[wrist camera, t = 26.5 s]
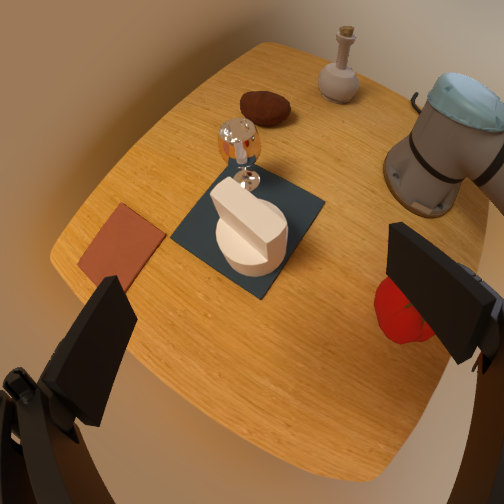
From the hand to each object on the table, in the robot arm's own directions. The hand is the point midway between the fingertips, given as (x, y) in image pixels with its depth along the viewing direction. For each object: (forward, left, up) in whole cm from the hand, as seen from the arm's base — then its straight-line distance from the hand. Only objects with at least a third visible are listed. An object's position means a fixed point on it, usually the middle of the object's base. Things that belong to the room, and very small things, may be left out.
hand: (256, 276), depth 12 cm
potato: (-31, -20, -26) cm, 45 cm away
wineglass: (-16, -15, -25) cm, 33 cm away
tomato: (-12, +16, -26) cm, 32 cm away
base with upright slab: (-8, -7, -25) cm, 27 cm away
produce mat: (+5, -26, -26) cm, 37 cm away
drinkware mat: (-11, -11, -26) cm, 30 cm away
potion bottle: (-47, -12, -26) cm, 55 cm away
